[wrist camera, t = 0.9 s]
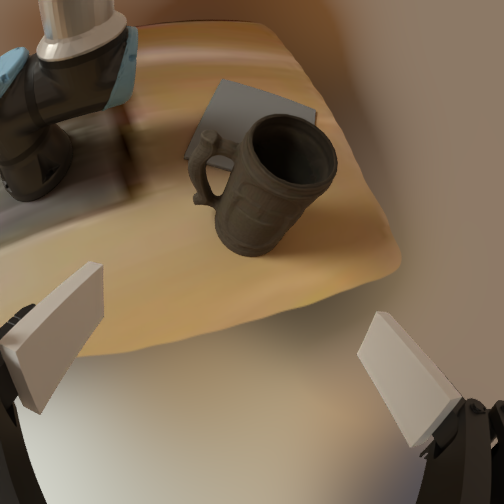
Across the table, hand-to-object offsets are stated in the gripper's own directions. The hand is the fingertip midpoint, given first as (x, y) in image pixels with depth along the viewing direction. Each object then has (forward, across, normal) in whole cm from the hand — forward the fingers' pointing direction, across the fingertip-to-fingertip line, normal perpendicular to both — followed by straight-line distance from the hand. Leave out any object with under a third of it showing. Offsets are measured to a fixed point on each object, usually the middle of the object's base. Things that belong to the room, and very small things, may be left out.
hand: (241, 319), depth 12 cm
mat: (+44, +2, +14) cm, 47 cm away
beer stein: (+32, 0, -2) cm, 32 cm away
